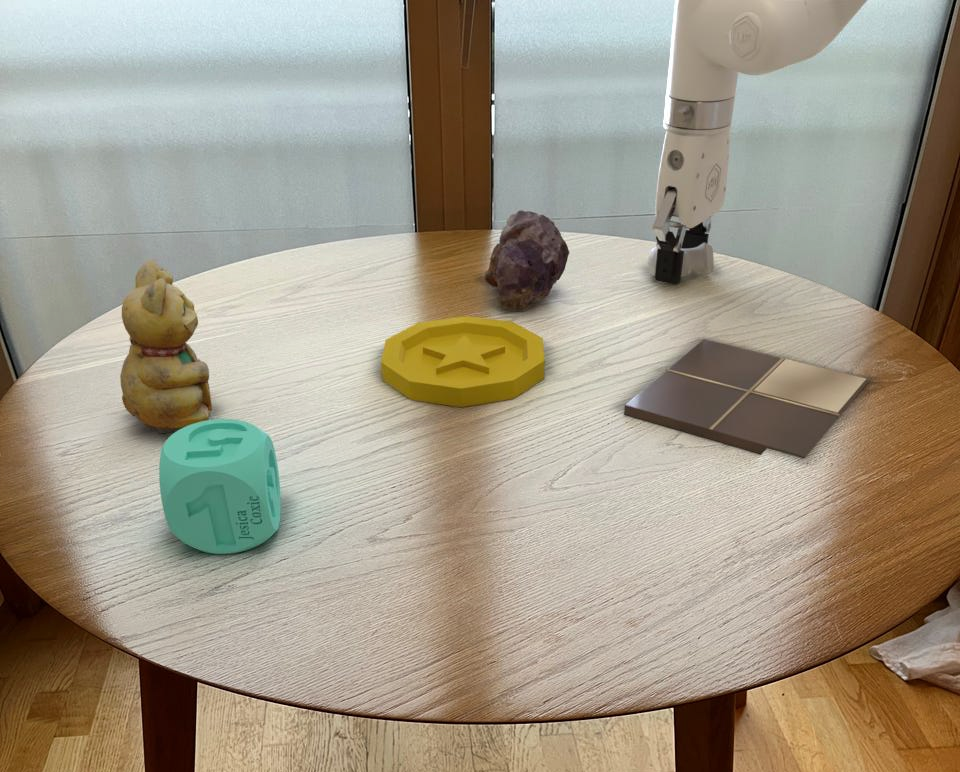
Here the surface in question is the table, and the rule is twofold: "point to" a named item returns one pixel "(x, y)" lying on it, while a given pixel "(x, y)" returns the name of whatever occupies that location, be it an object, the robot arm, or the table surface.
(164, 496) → the decorative dice
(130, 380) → the decorative figurine
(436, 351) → the decorative disc
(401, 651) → the table surface
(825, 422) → the board
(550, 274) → the rock
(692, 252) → the smooth white sculpture
